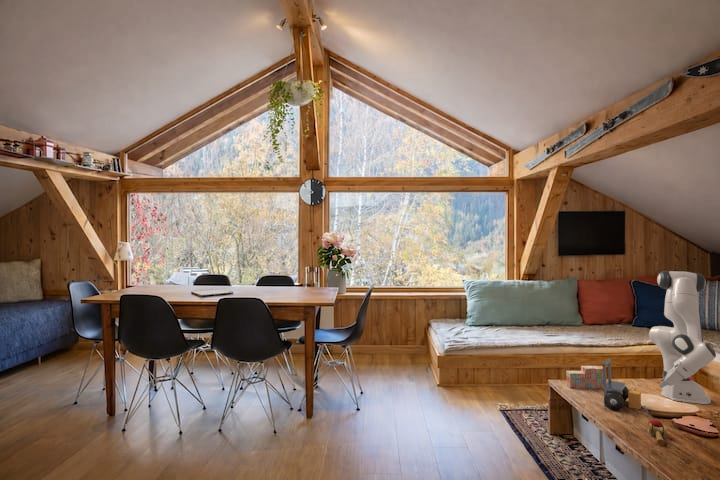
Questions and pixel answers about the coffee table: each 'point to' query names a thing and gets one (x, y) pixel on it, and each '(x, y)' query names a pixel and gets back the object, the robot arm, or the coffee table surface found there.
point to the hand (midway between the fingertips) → (661, 384)
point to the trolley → (613, 390)
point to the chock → (634, 399)
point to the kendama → (657, 430)
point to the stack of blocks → (586, 377)
